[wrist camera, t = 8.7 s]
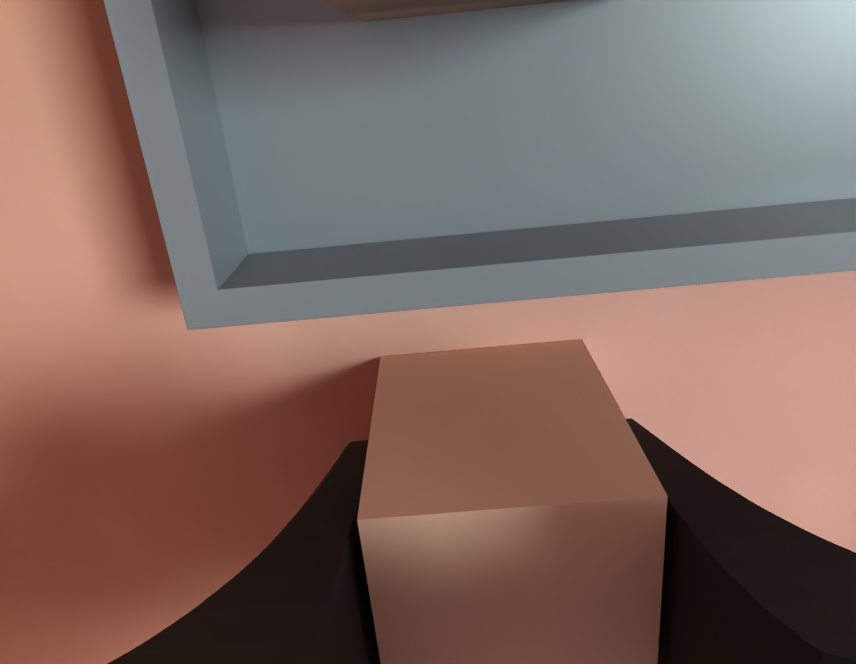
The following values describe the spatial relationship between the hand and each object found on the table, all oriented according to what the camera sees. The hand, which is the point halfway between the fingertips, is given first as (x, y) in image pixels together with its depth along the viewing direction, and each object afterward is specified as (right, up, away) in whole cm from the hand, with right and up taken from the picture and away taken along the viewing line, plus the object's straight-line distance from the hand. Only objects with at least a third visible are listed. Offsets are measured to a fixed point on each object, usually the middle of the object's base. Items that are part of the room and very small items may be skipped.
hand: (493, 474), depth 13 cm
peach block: (0, +1, +1) cm, 1 cm away
